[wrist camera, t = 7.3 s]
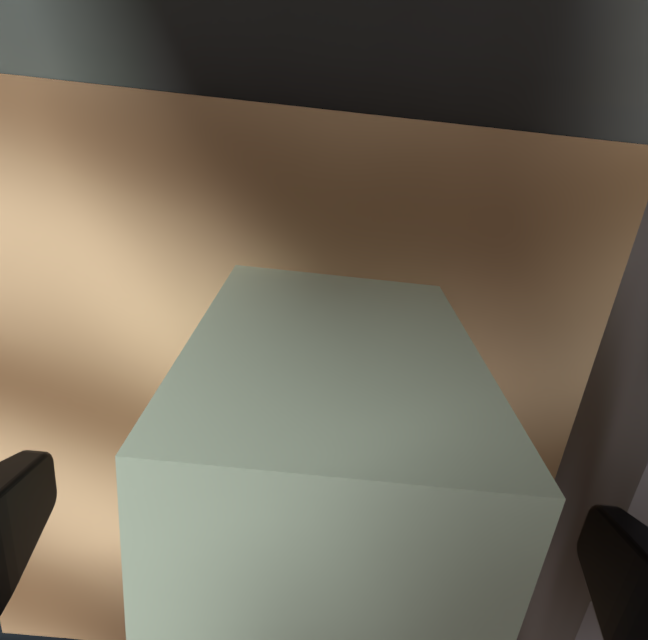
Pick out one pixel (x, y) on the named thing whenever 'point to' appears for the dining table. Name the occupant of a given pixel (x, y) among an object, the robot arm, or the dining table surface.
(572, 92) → the dining table surface
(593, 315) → the wooden platform
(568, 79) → the dining table surface
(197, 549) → the tea box
